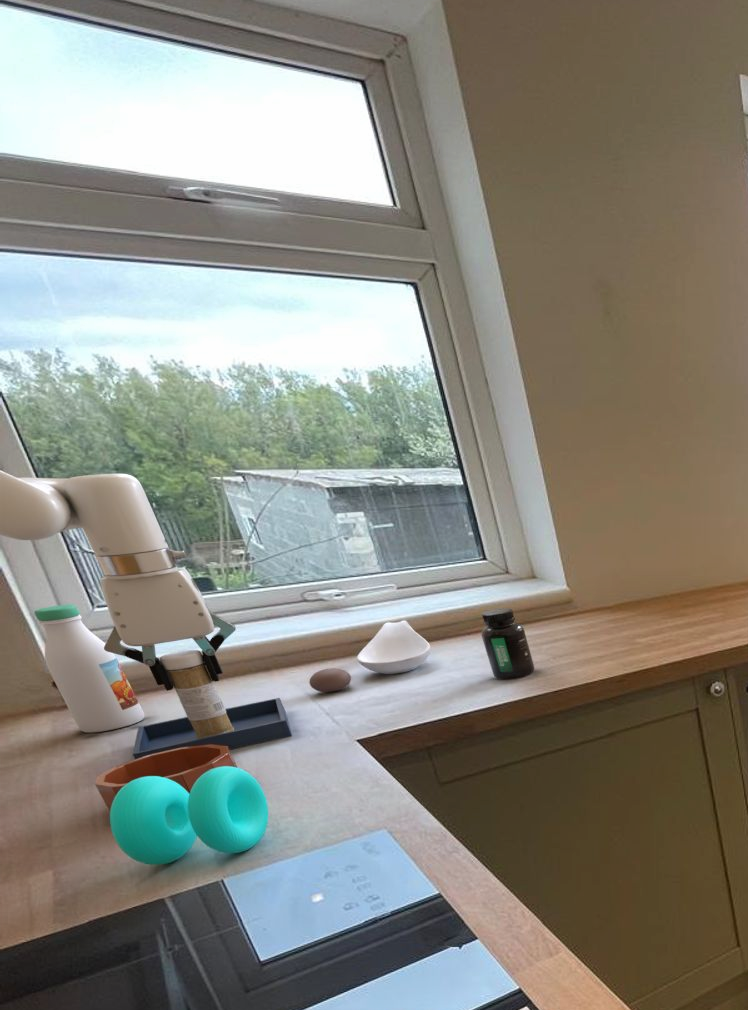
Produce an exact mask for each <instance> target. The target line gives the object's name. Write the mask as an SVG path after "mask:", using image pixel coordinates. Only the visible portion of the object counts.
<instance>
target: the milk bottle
mask: <svg viewBox="0 0 748 1010" xmlns="http://www.w3.org/2000/svg"><path fill="white" fill-rule="evenodd" d="M34 616H35V618H36V619H37V621H39V625H42V626H43V628H44V632H45V646H44V660H45V663H46V666H47V669H48V671H49V673H50V676H51V677H52V680H53V681H54V683H55V686H56V687H57V689H58V692H59V693H60V695H61V698H62V699H63V700H64V703H65V704H66V706H67V709H68V710H69V712H70V714H71V716H72V718H73V720H74V722H75V724H76V725H77V728H78V729H79V730H80V731H81V732H84V733H100V732H108V731H111V730H116V729H121V728H125V727H128V726H131V725H134V724H136V723H139V722H140V721H143V720H144V718H145V713H144V711H143V708H142V707H141V705H140V702H139V700H138V698H137V696H136V694H135V692H134V690H133V688H132V686H131V684H130V682H129V680H128V678H127V676H126V675H125V673H124V670H123V669H122V666H121V664H120V662H119V660H118V659H117V657H116V654H114V653H111V652H107V651H105V650H104V646H105V644H106V642H104V641H103V640H102V639H101V638H100V637H98V636H97V635H95V634H94V633H93V632H92V631H91V630H90V629H88V628H87V627H86V626H85V624H84V623H83V621H82V618H83V617H82V615H81V613H80V610H79V609H78V606H77V605H75V604H61V605H53V606H46V607H42V608H38V609H35V610H34Z"/></svg>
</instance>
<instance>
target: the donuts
mask: <svg viewBox="0 0 748 1010" xmlns="http://www.w3.org/2000/svg"><path fill="white" fill-rule="evenodd" d="M109 823H110V829H111V833H112V835H113V838H114V840H115V842H116V844H117V845H118V847H119V848H120V849H121V850H122V851H123V852H124V853H125V854H126V856H128V857H130V858H131V859H132V860H133V861H136V862H138V863H141V864H145V865H149V866H150V865H151V866H160V865H166V864H170V863H173V862H175V861H177V860H179V859H181V858H182V857H184V856H185V855H186V854H187V853H188V852H189V851H190V849H191V848H192V847H193V845H194V844H195V842H196V841H197V838H198V839H199V840H200V841H201V842H202V843H203V844H204V845H206V846H207V847H208V848H210V849H212V850H215V851H217V852H219V853H224V854H238V853H243V852H245V851H248V850H250V849H252V848H253V847H255V846H256V845H257V844H258V843H259V842H260V841H261V840H262V838H263V837H264V834H265V832H266V830H267V827H268V823H269V807H268V801H267V798H266V796H265V792H264V790H263V788H262V786H261V785H260V783H259V782H258V780H257V779H256V778H255V777H254V776H253V775H252V774H251V773H249V772H247V771H246V770H244V769H242V768H239V767H238V768H236V767H230V766H223V767H217V768H214V769H211V770H209V771H207V772H205V773H204V774H203V775H201V776H200V777H199V778H198V779H197V781H196V782H195V784H194V785H193V787H192V789H191V791H190V794H189V793H188V792H187V791H186V790H185V789H184V788H183V787H182V786H181V785H179V784H178V783H176V782H174V781H172V780H170V779H167V778H164V777H159V776H146V777H141V778H138V779H135V780H132V781H131V782H129V783H127V784H126V785H125V786H123V787H122V788H121V789H120V791H119V792H118V793H117V795H116V797H115V798H114V800H113V803H112V806H111V811H109Z"/></svg>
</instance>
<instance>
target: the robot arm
mask: <svg viewBox="0 0 748 1010" xmlns="http://www.w3.org/2000/svg"><path fill="white" fill-rule="evenodd" d="M150 503H151V502H149V499H148V497H147V494H146V492H145V490H144V488H143V486H142V484H141V482H140V481H139V479H137V477H135V476H133V475H132V474H131V475H130V474H127V473H101V474H100V473H99V474H87V475H78V476H73V477H69V478H66V477H65V478H64V477H63V478H61V477H60V478H58V477H57V478H56V477H53V478H51V477H16V476H14V475H11V474H9V473H7V472H6V471H4V470H1V469H0V536H3V537H6V538H10V539H14V540H15V539H16V540H19V541H38V540H39V541H40V540H44V539H47V538H50V537H53V536H55V535H56V534H59V533H62V532H65V531H70V530H76V529H81V528H82V530H83V532H84V534H85V536H86V538H87V541H88V543H89V545H90V546H91V549H92V551H93V553H94V556H95V557H96V560H97V561H98V563H99V566H100V568H101V570H102V572H103V574H104V577H101V578H99V580H100V581H99V582H100V586H101V590H102V595H103V597H104V602H105V604H106V607H107V609H108V610H107V611H108V613H109V615H110V617H111V620H112V622H113V628H112V629H111V632H110V634H109V636H108V638H107V639H106V642H105V646H104V650H105V651H107V652H111V653H114V655H118V656H122V657H126V658H128V659H130V660H134V661H136V662H139V663H141V664H143V665H145V666H147V667H148V668H149V670H150V672H151V674H152V676H153V678H154V681H155V682H156V684H157V686H164V688H165V690H166V691H167V692H169V691H172V690H173V689H174V685H173V683H172V681H171V678H170V676H169V674H168V672H167V671H166V669H164V667H163V665H162V663H161V661H160V657H157V654H156V645H158V644H159V645H160V644H166V643H172V642H178V641H183V640H190V639H192V640H193V641H194V642H195V643H196V645H197V646H198V647H199V648H200V649H201V654H202V659H203V661H204V663H205V666H206V668H207V671H208V673H209V675H210V677H211V680H212V681H213V682H220V676H219V675H222V674H223V673H224V672H223V669H222V667H221V664H220V663H219V660H218V658H217V656H216V652H217V651H218V650H219V648H220V647H221V646H222V644H223V643H224V642H225V640H227V639H228V638H229V637H230V636H231V635H232V634H233V633H234V632H236V626H235V624H233V623H231V622H229V621H227V619H224V618H223V617H221V616H220V615H217V614H216V613H214V612H212V611H211V610H210V608H209V606H208V604H207V602H206V600H205V598H204V596H203V594H202V592H201V590H200V589H199V587H198V585H197V584H196V582H195V580H194V579H193V576H192V575H191V574H190V573H189V571H188V570H187V569H186V568H185V567H178V564H179V563H181V562H182V561H187V560H189V559H188V556H187V554H186V552H185V550H179V551H178V550H173V549H170V547H169V545H168V542H167V540H166V538H165V535H164V534H163V533H164V532H163V531H162V528H161V527H160V524H159V522H158V520H157V516H156V515H155V513H154V510H153V508H152V505H151V504H150ZM215 626H216V627H218V628H219V630H218V631H217V632H216V633H215V634H213V632H214V631H215ZM211 634H213V635H212V637H211V638H210V639H209V638H208V637H207V636H208V635H211ZM121 641H122V643H124V644H122V643H121ZM125 645H126V646H125ZM133 647H141V650H139V649H137V648H133Z"/></svg>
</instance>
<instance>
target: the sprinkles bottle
mask: <svg viewBox="0 0 748 1010" xmlns="http://www.w3.org/2000/svg"><path fill="white" fill-rule="evenodd" d="M202 655H203V654H202V651H200V650H199V649H185V650H179V651H174V652H170V653H166V654H164V655H162V656H160V657H159V660H160V661H161V663H162V665H163V667H164V669H166V671H167V672H168V674H169V676H170V678H171V681H172V683H173V688H174V690H175V692H176V695H177V697H178V699H179V703H180V704H181V706H182V709H183V710H184V713H185V715H186V717H188V719H189V720H190V722H191V724H192V726H193V728H194V731H195V733H196V737H197V738H198V739H199V738H204V737H208V736H213V735H217V734H222V733H226V732H231V731H234V727H232V725H231V723H230V720H229V718H228V716H227V714H226V710H225V709H226V707H225V705H224V703H223V701H222V698H221V696H220V694H219V692H218V690H217V689H218V688H217V687H216V685H215V683H214V682H215V681H212V679H211V677H210V674H209V672H208V670H207V668H206V665H205V663H204V661H203V659H202Z"/></svg>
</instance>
